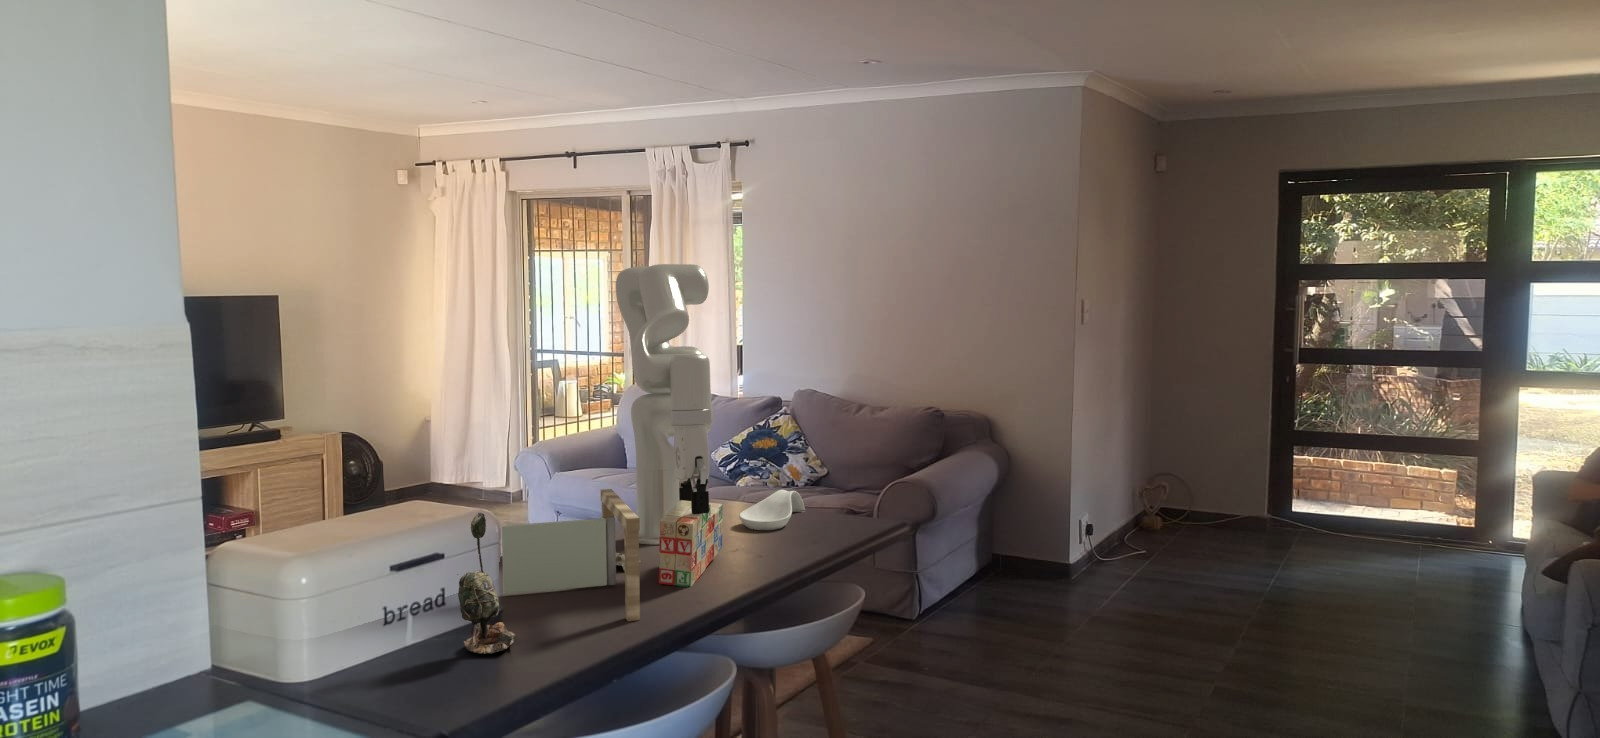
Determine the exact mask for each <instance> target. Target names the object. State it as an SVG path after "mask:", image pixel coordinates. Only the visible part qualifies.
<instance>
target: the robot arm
mask: <svg viewBox="0 0 1600 738" xmlns="http://www.w3.org/2000/svg"><path fill="white" fill-rule="evenodd" d="M615 279H616V281H615V296H616V301H617V305H618V309H619V311H620V314H621V317H622V319H623V321H624V324H625V326H626V328H627V331H628V335H629V344H630V353H631V363H632V372H633V377H634V381H635V384H636V385H637V386H638V387H639V388H640V389H641V390H642V391H643V392H645V393H646V394H642V395H640V396H638V397H636V398H635V399H634V401H633V402H632V404H631V407H630V417H631V424H632V430H633V435H634V446H635V447H634V448H635V471H636V472H635V473H636V474H635V475H636V479H635V480H636V484H635V486H636V515H637V516H638V517H639V518H640V530H639V545H652V546H653V545H658V546H659V541H660V520H661V519H662V518H663V517H664V516H665V515H666V514H667V513H668V512H669V511H670V510H672V509H673V508H674V506H675V505H676V504H677V503H678V502H679V501H680V500H684V501H691V510H692V513H693V514H703V513H709V503H710V495H709V494H710V493H709V492H710V491H709V484H708V483H709V478H710V450H709V448H710V446H709V437H708V435H709V434H708V433H709V432H710V431H711V430H712V427H713V421H714V414H713V413H714V412H713V403H712V394H711V392H712V391H711V366H710V365H711V364H710V363H711V362H710V359H709V357H708V356H707V355H706V354H703V352H702V351H701V350H700V349H699V348H697V347H694V346H673V345H671V344H670V341H671V340H673V339H675V338H677V337H679V336H680V335H682V334H683V333H684V332H685V331H686V329H687V328H688V326H689V324H690V316H689V312H688V308H687V306H688V305H689V306H690V305H693V306H695V305H701V304H703V303H705V301H706V300H707V298H708V297H709V296H708V295H709V291H710V290H709V289H710V285H709V279H708V276H707V273H706V271H705V270H704V269H703V267H701V266H700V265H699V264H690V263H688V264H687V263H686V264H683V263H679V264H678V263H675V264H673V263H667V264H666V263H665V264H664V263H661V264H652V265H650V266H649V265H647V266H644V265H643V266H634V267H633V266H632V267H629V268H624V269H623V270H621V271H620V272H619V273H618V274H617V277H616V278H615ZM670 438H673V439H674V440H673V441H674V442H673V445H672V444H671V443H670V441H669V439H670Z"/></svg>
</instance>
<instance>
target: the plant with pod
mask: <svg viewBox="0 0 1600 738" xmlns="http://www.w3.org/2000/svg"><path fill="white" fill-rule="evenodd" d="M486 522H487V520H486V517H485V513H483V512H477V513H476V515H475V516H474V517H473V518H472V520H471V522H470V533H471V534H472V535H471V536H473V538H474V539H476V545H477V552H478V553H477V554H478V560H479V565H480V570H475V571H468V572H466V573H464V574H463V575H461V577H460V578H459V581H458V586H459V587H458V593H457V595H458V602H459V609H460V613H461V618H462V619H463V620H464V621H469V622H471V625H472V628H471V637H470V638H467V639H466V640H463V643H464V645H463V646H464V647H465V649H466V650H467V651H469V652H471V653H472V652H473V653H476V654H494V653H496V652H497V653H498V652H499V651H504V650H506V649H508V648H509V647H510V646H511V645H512V644H513V643H515V641H514V640H515V637H516V634H515V633H514V631H512V630H508V629H507V627H506V625H505V624H504V622H500V621H499V622H496V623H495V624H494V625H491V620H492V619H493V618H495V617H497V616H498V615H499V610H500V604H499V595H498V594H497V591H496V587H495V585H494V582H493V580H492V578H491V577H490V575H489V574H488V573H487V572H485V571H484V569H483V562H482V561H483V560H482V554H481V540H480V539H481V538H483V537H484V536H485V534H486V531H487V530H486V528H487V525H486V524H487V523H486ZM456 575H457V576H459V574H458V573H457V574H456Z"/></svg>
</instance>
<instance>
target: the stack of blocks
mask: <svg viewBox="0 0 1600 738" xmlns="http://www.w3.org/2000/svg"><path fill="white" fill-rule="evenodd" d="M723 508H724V507H723V503H716V502H709V513H703V514H693V513H692V510H691V501H684V500H680V501H679V502H678V503H677V504H676V505H675V506H674V508H673V509H672V510H670V511H669V512H668V513H667V514H666V515H665V516H664V517H663V518H662V519H661V520H660V541H659V545H658V546H659V548H658V550H659V568H658V583H659V584H660V585H668V586H670V585H671V586H679V587H688V586H690V587H692V586H693V585H694V584H695V583H696V582H697V581H698V579H699V578H700V577H701V575H702V574H703V573H704V572H705V570H706V568H707V567H708V566H709V565H710V562H712V560H713V559H714V558H715V557H716V556H717V555H718V553H719V552H720V551H721V549H722V548H723V523H724V519H723Z"/></svg>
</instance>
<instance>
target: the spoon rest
mask: <svg viewBox="0 0 1600 738" xmlns="http://www.w3.org/2000/svg"><path fill="white" fill-rule="evenodd" d="M800 510H805V511H800ZM794 512H795V513H796V512H797V513H804V512H806V508H805V503H804V501H803V498H802V496H801V495H800V493H799V492H798V491H796V490H790V491H788V490H785V489H778V490H777V491H774V493H771V495H769V496H767V497H766V498H764V499H762V500H761V501H758V502H756V503H755V504H753V505H751V506H749V507H748V508H746V509H744V510H743V511H740V513H739V516H738V518H739V519H740V521H741V523H742V524H743V525H744V526H745V527H746V528H748V529H750V530H753V529H754V530H755V531H774V530H779V529H782V528H783V527H785V526H786V525H787V524H788V522H789V521H790V520H791V517H792V515H793V513H794ZM754 530H753V531H754Z"/></svg>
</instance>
